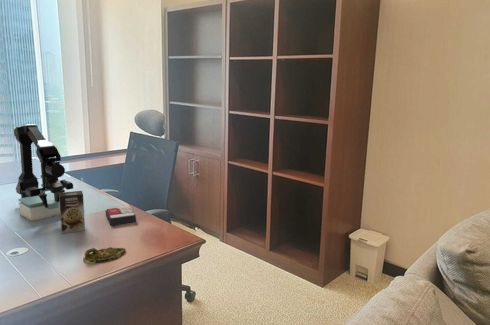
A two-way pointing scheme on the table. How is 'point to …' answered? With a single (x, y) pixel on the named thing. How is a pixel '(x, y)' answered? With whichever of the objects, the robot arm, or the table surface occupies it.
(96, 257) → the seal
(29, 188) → the robot arm
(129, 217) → the black box
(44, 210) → the tub
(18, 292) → the table surface
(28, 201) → the lid
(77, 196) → the coffee box
